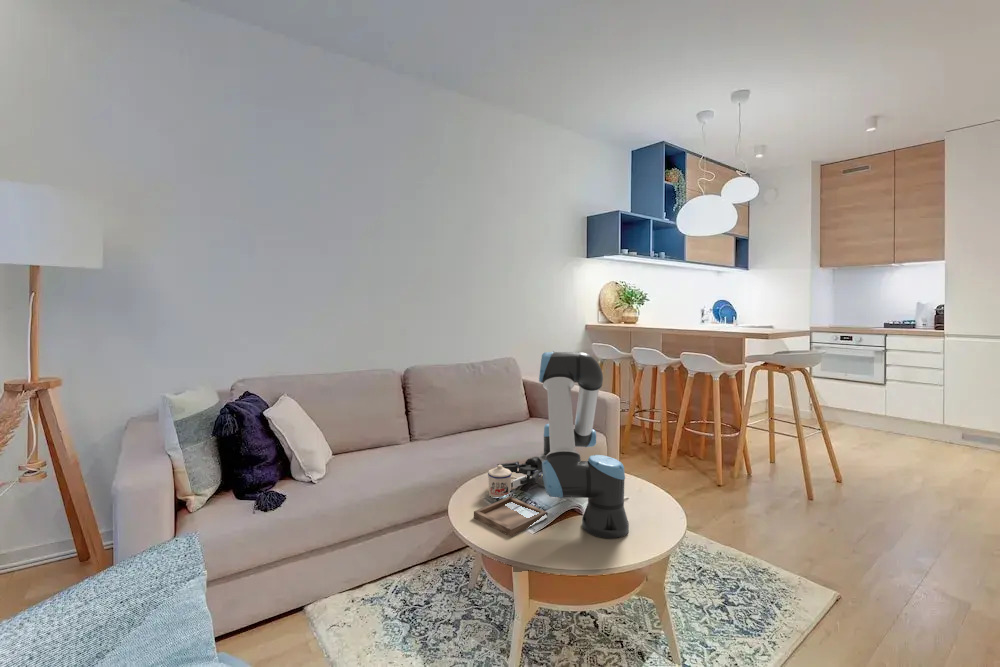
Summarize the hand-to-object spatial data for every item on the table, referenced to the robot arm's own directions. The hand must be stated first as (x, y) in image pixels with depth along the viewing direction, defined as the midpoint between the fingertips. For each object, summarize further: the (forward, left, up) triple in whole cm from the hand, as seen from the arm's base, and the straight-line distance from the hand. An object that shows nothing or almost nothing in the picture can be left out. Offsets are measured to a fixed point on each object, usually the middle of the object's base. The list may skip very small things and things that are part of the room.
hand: (500, 479), depth 180 cm
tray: (-16, +11, -7) cm, 20 cm away
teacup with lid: (0, -1, -7) cm, 7 cm away
